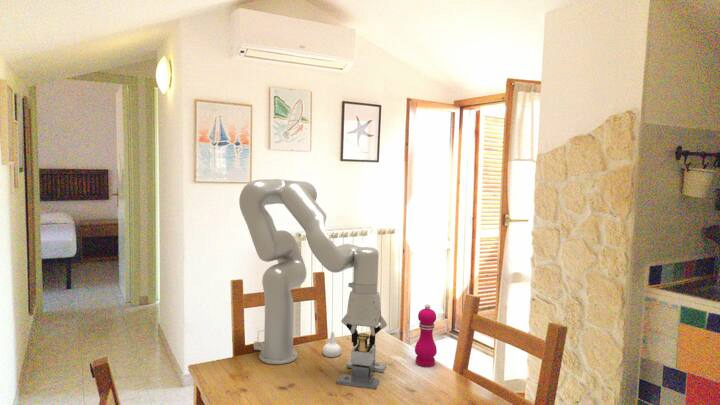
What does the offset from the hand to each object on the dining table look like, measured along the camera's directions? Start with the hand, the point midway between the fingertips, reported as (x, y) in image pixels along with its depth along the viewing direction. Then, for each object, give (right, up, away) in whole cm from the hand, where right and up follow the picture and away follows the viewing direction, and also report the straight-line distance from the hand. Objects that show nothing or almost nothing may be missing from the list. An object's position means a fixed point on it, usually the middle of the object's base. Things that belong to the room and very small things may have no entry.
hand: (363, 345), depth 152 cm
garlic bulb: (-11, -8, +16) cm, 21 cm away
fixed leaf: (-1, -10, -2) cm, 10 cm away
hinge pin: (0, -10, +1) cm, 10 cm away
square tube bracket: (0, -9, +3) cm, 10 cm away
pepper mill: (+21, -9, +11) cm, 25 cm away
